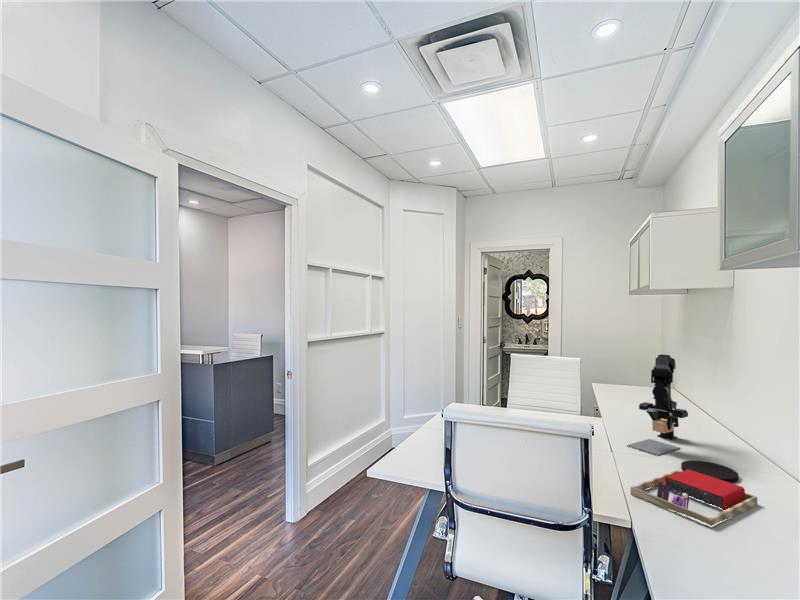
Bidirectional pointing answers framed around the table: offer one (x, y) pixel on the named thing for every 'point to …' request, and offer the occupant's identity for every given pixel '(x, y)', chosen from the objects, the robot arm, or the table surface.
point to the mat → (653, 447)
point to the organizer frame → (726, 514)
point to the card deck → (661, 426)
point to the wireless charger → (711, 470)
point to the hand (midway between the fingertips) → (663, 428)
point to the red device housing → (707, 488)
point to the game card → (677, 500)
